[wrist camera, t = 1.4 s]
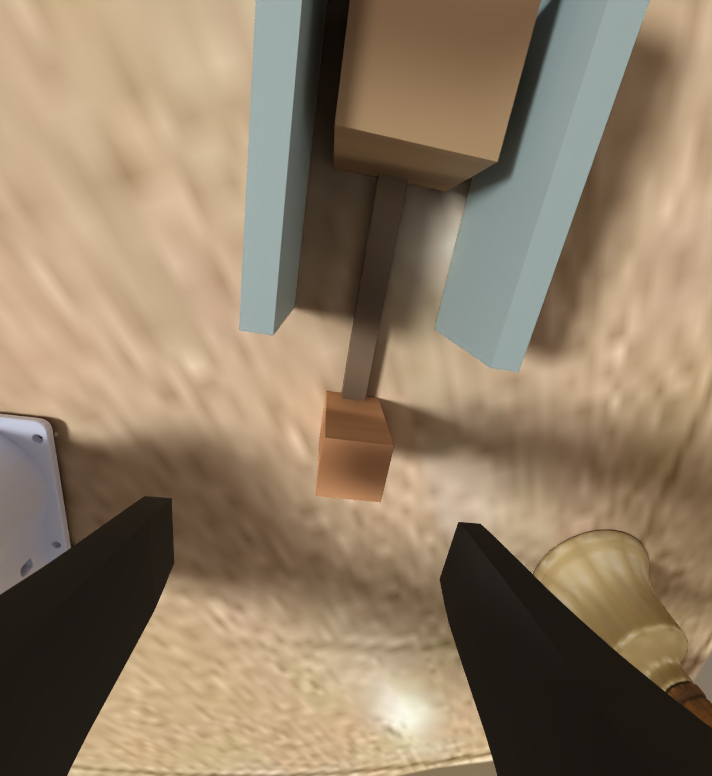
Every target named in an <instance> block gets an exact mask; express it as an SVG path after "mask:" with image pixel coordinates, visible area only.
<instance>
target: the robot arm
mask: <svg viewBox="0 0 712 776" xmlns="http://www.w3.org/2000/svg"><path fill="white" fill-rule="evenodd" d="M39 435H40V436H41V437H42V438H43V439H41V438H40V437H39ZM173 564H174V548H173V523H172V498H160V497H147V496H144V497H143V498H141V499H140V500H138V501H137V502H136V503H134V504H133V505H131V506H130V507H128V508H127V509H126V510H124V511H123V512H121V513H120V514H118V515H117V516H116V517H114V518H113V519H111V520H110V521H109V522H107V523H106V524H104V525H103V526H101V527H100V528H99V529H97V530H96V531H94V532H93V533H91V534H90V535H89V536H87V537H86V538H84V539H83V540H82V541H80V542H79V543H77V544H76V545H74V546H73V547H71V544H70V538H69V532H68V525H67V519H66V513H65V506H64V500H63V493H62V487H61V481H60V474H59V468H58V462H57V455H56V449H55V443H54V436H53V430H52V426H51V424H50V423H49V422H48V421H46V420H45V419H41V418H34V417H25V416H16V415H7V414H0V776H67V775H68V773H69V770H70V768H71V766H72V764H73V762H74V760H75V758H76V756H77V754H78V752H79V750H80V748H81V746H82V744H83V742H84V740H85V738H86V736H87V734H88V733H89V731H90V729H91V727H92V725H93V723H94V721H95V720H96V718H97V716H98V714H99V712H100V710H101V709H102V707H103V705H104V703H105V701H106V699H107V697H108V696H109V694H110V692H111V690H112V688H113V686H114V685H115V683H116V681H117V679H118V677H119V675H120V674H121V672H122V670H123V668H124V666H125V664H126V662H127V661H128V659H129V657H130V655H131V653H132V651H133V650H134V648H135V646H136V644H137V642H138V640H139V638H140V636H141V635H142V633H143V631H144V629H145V627H146V625H147V623H148V622H149V620H150V618H151V616H152V614H153V612H154V610H155V608H156V606H157V603H158V601H159V599H160V596H161V594H162V592H163V589H164V587H165V584H166V582H167V579H168V577H169V574H170V572H171V569H172V567H173ZM440 583H441V589H442V594H443V599H444V604H445V608H446V612H447V617H448V621H449V625H450V628H451V631H452V634H453V637H454V641H455V644H456V647H457V650H458V653H459V656H460V659H461V662H462V665H463V668H464V671H465V674H466V677H467V680H468V683H469V686H470V689H471V692H472V695H473V698H474V701H475V704H476V707H477V710H478V713H479V716H480V719H481V722H482V725H483V728H484V731H485V734H486V738H487V741H488V744H489V748H490V751H491V754H492V758H493V761H494V764H495V768H496V772H497V776H712V728H711V727H710V726H709V725H707V724H706V723H705V722H703V721H702V720H701V719H699V718H698V717H697V716H696V715H694V714H693V713H692V712H690V711H689V710H688V709H686V708H685V707H684V706H683V705H681V704H680V703H679V702H677V701H676V700H675V699H674V698H672V697H671V696H670V695H669V694H668V693H666V692H665V691H664V690H663V689H661V688H660V687H659V686H658V685H656V684H655V683H654V682H653V681H652V680H650V679H649V678H648V677H647V676H645V675H644V674H643V673H642V672H640V671H639V670H638V669H637V668H635V667H634V666H633V665H632V664H631V663H629V662H628V661H627V660H626V659H625V658H624V657H622V656H621V655H620V654H619V653H618V652H616V651H615V650H614V649H613V648H612V647H611V646H610V645H608V644H607V643H606V642H605V641H604V640H603V639H602V638H601V637H599V636H598V635H597V634H596V633H595V632H594V631H593V630H592V629H590V628H589V627H588V626H587V625H586V624H585V623H584V622H583V621H581V620H580V619H579V618H578V617H577V616H576V615H575V614H574V613H573V612H572V611H571V610H570V609H568V608H567V607H566V606H565V605H564V604H563V603H562V602H561V601H560V600H559V599H558V598H557V597H556V596H555V595H554V594H552V593H551V592H550V591H549V590H548V589H547V588H546V587H545V586H544V585H543V584H542V583H541V582H540V581H539V580H538V579H537V578H536V577H535V576H534V575H533V574H532V573H531V572H530V571H529V570H528V569H527V568H526V567H525V566H524V565H523V564H522V563H521V562H520V561H519V560H518V559H517V558H516V557H515V556H514V555H512V554H511V553H510V552H509V551H508V550H507V549H506V548H505V547H504V546H503V545H502V544H501V543H500V542H499V541H498V540H497V539H496V538H495V537H494V536H493V535H492V534H491V533H490V532H489V531H488V530H487V529H486V528H485V527H483V526H482V525H481V524H477V523H464V522H458V525H457V528H456V531H455V534H454V537H453V540H452V543H451V546H450V549H449V552H448V555H447V558H446V561H445V565H444V568H443V571H442V574H441V577H440Z"/></svg>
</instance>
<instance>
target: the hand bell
mask: <svg viewBox="0 0 712 776" xmlns="http://www.w3.org/2000/svg"><path fill="white" fill-rule="evenodd" d="M533 575H534V576H535V577H536V578H537V579H538V580H539V581H540V582H541V583H542V584H543V585H544V586H545V587H546V588H547V589H548V590H549V591H550V592H551V593H552V594H554V595H555V596H556V597H557V598H558V599H559V600H560V601H561V602H562V603H563V604H564V605H565V606H566V607H567V608H568V609H570V610H571V611H572V612H573V613H574V614H575V615H576V616H577V617H578V618H579V619H580V620H581V621H583V622H584V623H585V624H586V625H587V626H588V627H589V628H590V629H592V630H593V631H594V632H595V633H596V634H597V635H598V636H599V637H601V638H602V639H603V640H604V641H605V642H606V643H607V644H608V645H610V646H611V647H612V648H613V649H614V650H615V651H616V652H618V653H619V654H620V655H621V656H622V657H624V658H625V659H626V660H627V661H628V662H629V663H631V664H632V665H633V666H634V667H635V668H637V669H638V670H639V671H640V672H642V673H643V674H644V675H645V676H647V677H648V678H649V679H650V680H652V681H653V682H654V683H655V684H656V685H658V686H659V687H660V688H661V689H663V690H664V691H665V692H666V693H668V694H669V695H670V696H671V697H672V698H674V699H675V700H676V701H677V702H679V703H680V704H681V705H683V706H684V707H685V708H686V709H688V710H689V711H690V712H692V713H693V714H694V715H696V716H697V717H698V718H699V719H701V720H702V721H703V722H705V723H706V724H707V725H709V726H710V727H711V728H712V703H711V702H710V701H708V700H707V699H706V696H705V694H704V693H703V692H702V691H701V689H700V688H699V687H698V686H697V685H696V684H694V683H693V681H692V680H691V679H690V678H689V676H688V675H687V674H686V673H685V671H684V670H683V668H682V667H681V662H682V660H683V659H684V657H685V655H686V653H687V651H688V641H687V638H686V635H685V634H684V632H683V631H682V629H681V628H680V627H679V626H678V624H677V623H676V622H675V621H674V619H673V618H672V617H671V615H670V614H669V613H668V611H667V610H666V609H665V607H664V606H663V604H662V603H661V601H660V600H659V598H658V597H657V595H656V593H655V591H654V589H653V587H652V585H651V582H650V579H649V561H648V557H647V554H646V551H645V549H644V547H643V546H642V545H641V544H640V542H639V541H638V540H636V539H635V538H633V537H632V536H630V535H628V534H625V533H622V532H618V531H612V530H600V531H592V532H587V533H583V534H580V535H577V536H575V537H573V538H571V539H569V540H566V541H564V542H563V543H561V544H559V545H558V546H556V547H555V548H553V549H552V550H551V551H549V552H548V553H547V555H546V556H545V557H544V558H543V559H542V560H541V561H540V563H539V564H538V566H537V568H536V569H535V571H534V574H533Z"/></svg>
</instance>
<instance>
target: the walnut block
mask: <svg viewBox="0 0 712 776" xmlns="http://www.w3.org/2000/svg"><path fill="white" fill-rule="evenodd" d="M540 3H541V0H350V3H349V11H348V20H347V28H346V36H345V44H344V52H343V60H342V68H341V77H340V85H339V93H338V101H337V109H336V117H335V131H334V168H337V169H341V170H346V171H351V172H355V173H360V174H365V175H369V176H374V177H377V183H376V189H375V195H374V201H373V207H372V213H371V219H370V225H369V231H368V237H367V243H366V249H365V255H364V261H363V267H362V273H361V279H360V285H359V291H358V297H357V303H356V309H355V315H354V321H353V327H352V333H351V339H350V345H349V351H348V357H347V363H346V369H345V375H344V381H343V387H342V393H337V392H330V391H327V392H326V398H325V405H324V412H323V419H322V425H321V432H320V440H319V455H318V470H317V485H316V496H322V497H332V498H343V499H353V500H364V501H375V502H381V499H382V495H383V491H384V486H385V482H386V478H387V474H388V470H389V465H390V461H391V457H392V453H393V448H394V444H393V441H392V438H391V435H390V432H389V429H388V426H387V423H386V420H385V417H384V414H383V411H382V408H381V405H380V402H379V399H378V398H375V397H367V396H366V393H367V387H368V382H369V377H370V372H371V367H372V362H373V356H374V351H375V346H376V341H377V336H378V331H379V325H380V320H381V315H382V310H383V305H384V300H385V294H386V289H387V284H388V279H389V274H390V269H391V263H392V258H393V253H394V248H395V243H396V238H397V232H398V227H399V222H400V217H401V212H402V207H403V201H404V196H405V191H406V186H407V184H411V185H416V186H421V187H425V188H430V189H435V190H439V191H444V192H447V191H448V190H450V189H452V188H454V187H455V186H457V185H459V184H460V183H462V182H464V181H466V180H467V179H469V178H471V177H472V176H474V175H476V174H478V173H479V172H481V171H483V170H485V169H486V168H488V167H490V166H491V165H493V164H495V163H497V162H498V159H499V155H500V151H501V148H502V144H503V140H504V136H505V133H506V129H507V125H508V122H509V118H510V114H511V110H512V107H513V103H514V99H515V96H516V92H517V88H518V84H519V81H520V77H521V73H522V70H523V66H524V62H525V58H526V55H527V51H528V47H529V44H530V40H531V36H532V32H533V29H534V25H535V21H536V18H537V14H538V10H539V6H540Z"/></svg>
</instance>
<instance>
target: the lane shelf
mask: <svg viewBox="0 0 712 776" xmlns="http://www.w3.org/2000/svg"><path fill="white" fill-rule="evenodd" d="M649 1H650V0H541V3H540V6H539V10H538V14H537V18H536V21H535V25H534V29H533V32H532V36H531V40H530V44H529V47H528V51H527V55H526V58H525V62H524V66H523V70H522V73H521V77H520V81H519V84H518V88H517V92H516V96H515V99H514V103H513V107H512V110H511V114H510V118H509V122H508V125H507V129H506V133H505V136H504V140H503V144H502V148H501V151H500V155H499V159H498V162H497V163H495V164H493V165H491V166H490V167H488V168H486V169H485V170H483V171H481V172H479V173H478V174H476V175H474V176H472V180H471V184H470V188H469V192H468V196H467V200H466V204H465V208H464V212H463V216H462V220H461V224H460V228H459V232H458V236H457V240H456V244H455V248H454V252H453V256H452V260H451V264H450V268H449V272H448V276H447V280H446V284H445V288H444V292H443V296H442V300H441V304H440V308H439V312H438V316H437V320H436V324H435V328H434V329H435V330H436V331H438V332H439V333H440V334H442V335H443V336H445V337H446V338H448V339H449V340H451V341H452V342H453V343H455V344H456V345H458V346H459V347H461V348H462V349H464V350H465V351H467V352H468V353H469V354H471V355H472V356H474V357H475V358H477V359H478V360H480V361H481V362H482V363H484V364H485V365H487V366H488V367H490V368H494V369H501V370H507V371H514V372H519V370H520V367H521V364H522V361H523V359H524V356H525V353H526V350H527V347H528V344H529V342H530V339H531V336H532V333H533V330H534V327H535V325H536V322H537V319H538V316H539V313H540V310H541V308H542V305H543V302H544V299H545V296H546V293H547V291H548V288H549V285H550V282H551V279H552V276H553V274H554V271H555V268H556V265H557V262H558V259H559V257H560V254H561V251H562V248H563V245H564V242H565V240H566V237H567V234H568V231H569V228H570V225H571V222H572V220H573V217H574V214H575V211H576V208H577V205H578V203H579V200H580V197H581V194H582V191H583V188H584V186H585V183H586V180H587V177H588V174H589V171H590V169H591V166H592V163H593V160H594V157H595V154H596V152H597V149H598V146H599V143H600V140H601V137H602V135H603V132H604V129H605V126H606V123H607V120H608V118H609V115H610V112H611V109H612V106H613V103H614V101H615V98H616V95H617V92H618V89H619V86H620V83H621V81H622V78H623V75H624V72H625V69H626V66H627V64H628V61H629V58H630V55H631V52H632V49H633V47H634V44H635V41H636V38H637V35H638V32H639V30H640V27H641V24H642V21H643V18H644V15H645V13H646V10H647V7H648V4H649ZM326 6H327V0H256V6H255V26H254V46H253V66H252V85H251V105H250V125H249V145H248V165H247V185H246V204H245V224H244V244H243V264H242V284H241V303H240V323H239V330H240V331H247V332H254V333H260V334H267V335H274V334H275V332H276V331H277V330H278V328H279V327H280V326H281V324H282V323H283V322H284V320H285V319H286V318H287V316H288V315H289V314H290V313H291V311H292V310H293V309H294V307H295V301H296V291H297V282H298V272H299V263H300V253H301V244H302V234H303V225H304V215H305V206H306V196H307V187H308V177H309V168H310V158H311V149H312V139H313V130H314V120H315V111H316V101H317V91H318V82H319V72H320V63H321V53H322V44H323V34H324V25H325V15H326Z"/></svg>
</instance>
